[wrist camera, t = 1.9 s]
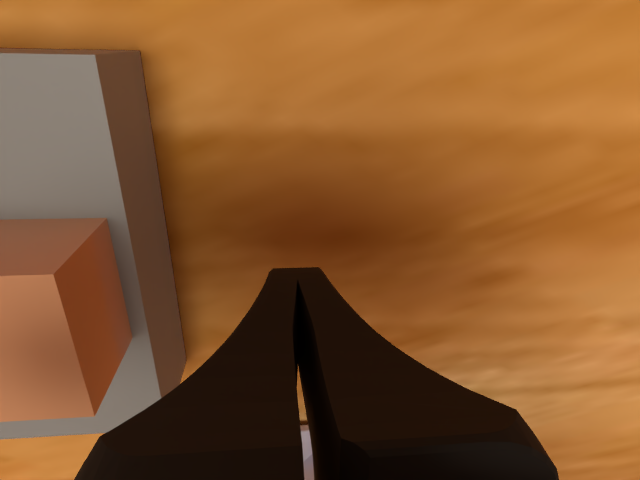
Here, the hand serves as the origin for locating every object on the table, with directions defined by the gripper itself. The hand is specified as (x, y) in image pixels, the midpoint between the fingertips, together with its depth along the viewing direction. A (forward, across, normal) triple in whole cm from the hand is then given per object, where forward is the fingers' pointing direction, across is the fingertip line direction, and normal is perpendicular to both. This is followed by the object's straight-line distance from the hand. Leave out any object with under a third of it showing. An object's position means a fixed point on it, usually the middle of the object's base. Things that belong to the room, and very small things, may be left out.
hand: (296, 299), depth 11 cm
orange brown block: (+1, +7, 0) cm, 7 cm away
